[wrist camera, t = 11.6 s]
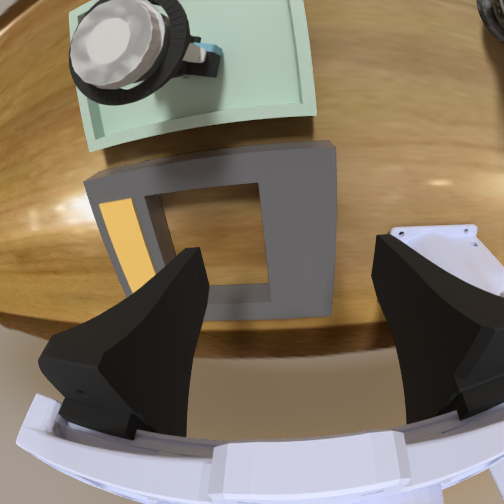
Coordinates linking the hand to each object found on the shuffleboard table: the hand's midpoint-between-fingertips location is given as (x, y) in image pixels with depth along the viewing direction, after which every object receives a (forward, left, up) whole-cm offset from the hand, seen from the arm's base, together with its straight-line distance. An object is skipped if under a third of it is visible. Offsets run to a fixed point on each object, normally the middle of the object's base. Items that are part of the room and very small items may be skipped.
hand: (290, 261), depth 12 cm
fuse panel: (+6, +4, -10) cm, 13 cm away
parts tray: (+6, -11, -10) cm, 16 cm away
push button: (+6, -10, -10) cm, 15 cm away
